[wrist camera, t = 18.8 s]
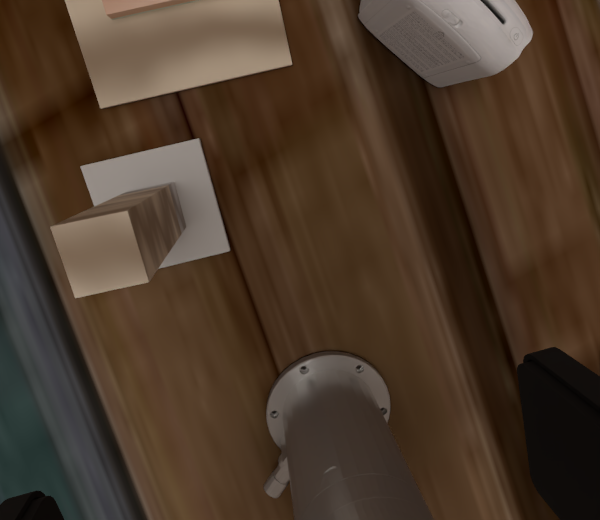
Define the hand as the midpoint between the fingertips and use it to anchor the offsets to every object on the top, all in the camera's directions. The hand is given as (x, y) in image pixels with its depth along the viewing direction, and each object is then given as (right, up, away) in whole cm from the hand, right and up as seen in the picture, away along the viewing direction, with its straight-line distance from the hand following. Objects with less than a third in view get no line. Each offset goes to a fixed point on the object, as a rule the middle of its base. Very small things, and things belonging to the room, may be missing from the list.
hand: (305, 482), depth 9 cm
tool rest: (-12, +9, +32) cm, 35 cm away
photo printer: (+9, +23, +31) cm, 39 cm away
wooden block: (-12, +9, +31) cm, 34 cm away
